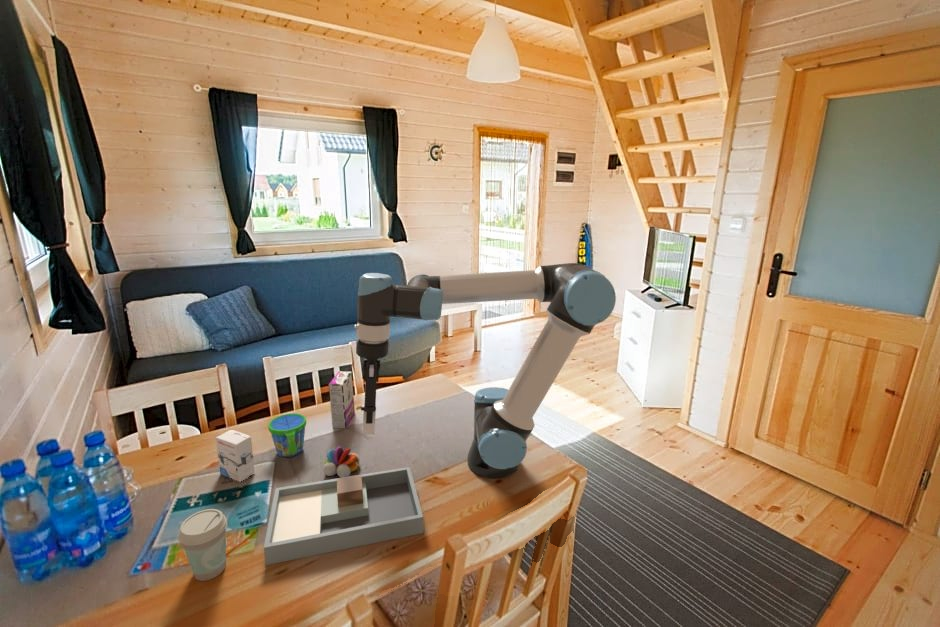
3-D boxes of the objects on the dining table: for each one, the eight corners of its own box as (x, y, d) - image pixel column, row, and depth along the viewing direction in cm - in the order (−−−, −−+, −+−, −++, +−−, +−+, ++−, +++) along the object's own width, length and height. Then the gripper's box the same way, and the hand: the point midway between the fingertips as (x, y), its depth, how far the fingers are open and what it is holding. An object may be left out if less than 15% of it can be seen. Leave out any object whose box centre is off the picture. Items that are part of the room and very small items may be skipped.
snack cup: (310, 461, 129) (307, 430, 127) (271, 469, 125) (267, 438, 123) (307, 435, 143) (304, 407, 141) (272, 441, 139) (268, 412, 137)
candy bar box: (341, 412, 158) (338, 370, 154) (355, 413, 158) (352, 370, 154) (331, 429, 147) (328, 384, 143) (346, 429, 147) (343, 384, 143)
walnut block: (362, 488, 114) (361, 474, 113) (363, 503, 109) (362, 489, 108) (338, 492, 113) (336, 478, 112) (338, 507, 107) (337, 493, 106)
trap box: (410, 481, 121) (409, 466, 120) (423, 533, 103) (423, 516, 102) (277, 503, 112) (275, 488, 111) (265, 565, 93) (263, 547, 92)
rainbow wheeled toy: (350, 482, 121) (349, 458, 119) (318, 477, 123) (316, 454, 121) (364, 464, 129) (362, 442, 127) (333, 459, 131) (332, 438, 129)
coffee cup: (200, 594, 87) (190, 543, 83) (178, 574, 91) (168, 526, 88) (241, 564, 94) (234, 517, 90) (219, 547, 98) (211, 501, 95)
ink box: (219, 474, 123) (213, 437, 120) (235, 465, 127) (230, 428, 124) (241, 483, 119) (235, 445, 116) (256, 473, 124) (251, 436, 121)
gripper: (358, 322, 115) (355, 396, 121) (353, 357, 92) (350, 447, 97) (387, 323, 117) (383, 396, 122) (390, 358, 93) (385, 446, 99)
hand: (369, 419), depth 110 cm, fingers open, 13 cm apart
